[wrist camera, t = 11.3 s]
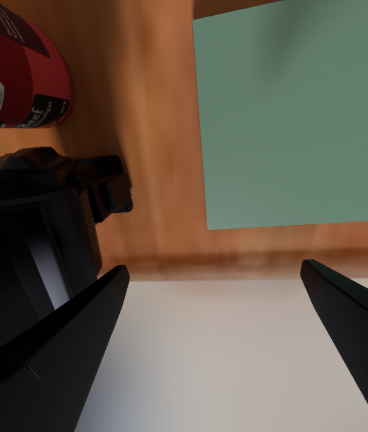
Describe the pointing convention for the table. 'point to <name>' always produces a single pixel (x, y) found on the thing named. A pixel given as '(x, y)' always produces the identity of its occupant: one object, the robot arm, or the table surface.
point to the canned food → (31, 76)
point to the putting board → (284, 113)
